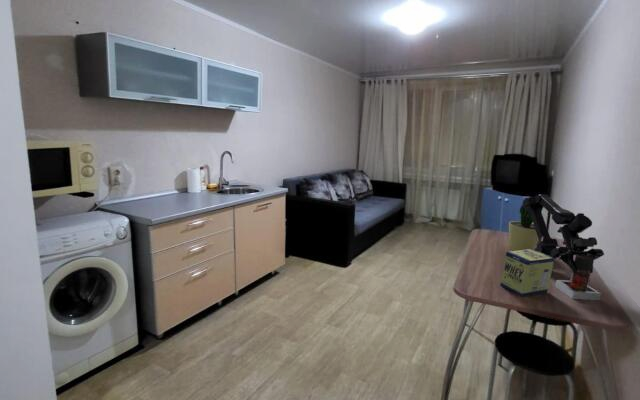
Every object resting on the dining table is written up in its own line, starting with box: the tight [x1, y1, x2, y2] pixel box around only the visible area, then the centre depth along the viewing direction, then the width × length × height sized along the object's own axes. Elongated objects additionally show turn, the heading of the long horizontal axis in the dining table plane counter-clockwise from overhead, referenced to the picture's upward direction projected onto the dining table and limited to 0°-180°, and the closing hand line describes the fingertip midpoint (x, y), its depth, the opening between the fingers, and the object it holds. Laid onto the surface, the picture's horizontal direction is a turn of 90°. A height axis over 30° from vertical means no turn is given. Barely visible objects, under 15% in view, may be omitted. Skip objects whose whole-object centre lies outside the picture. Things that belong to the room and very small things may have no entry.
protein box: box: [500, 248, 556, 297], centre depth 144 cm, size 10×16×16 cm
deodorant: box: [569, 254, 595, 291], centre depth 143 cm, size 6×6×15 cm
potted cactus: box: [508, 204, 538, 251], centre depth 190 cm, size 15×15×30 cm
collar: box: [555, 279, 602, 301], centre depth 144 cm, size 11×11×3 cm
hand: (583, 272), depth 141 cm, fingers closed on deodorant, 6 cm apart
